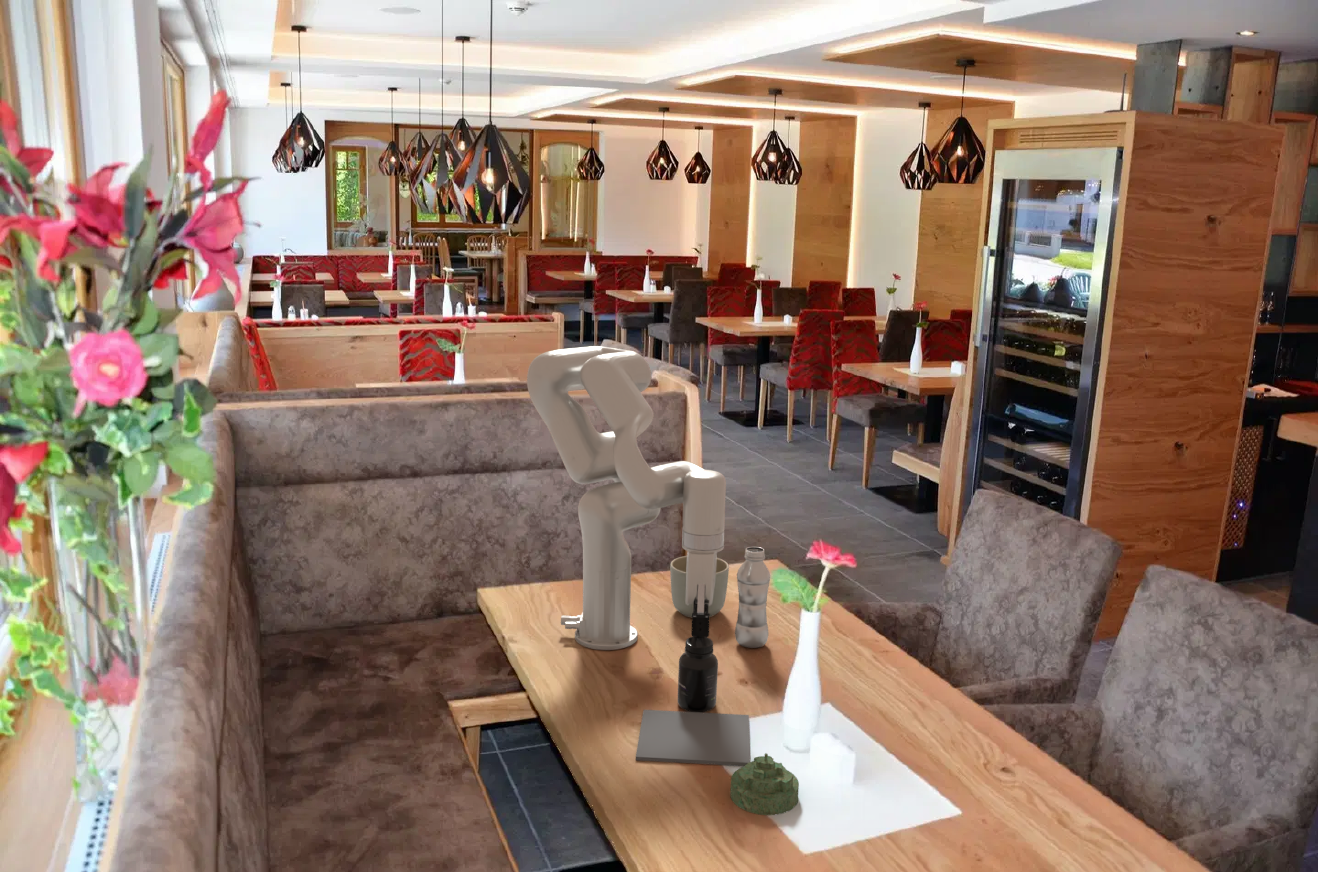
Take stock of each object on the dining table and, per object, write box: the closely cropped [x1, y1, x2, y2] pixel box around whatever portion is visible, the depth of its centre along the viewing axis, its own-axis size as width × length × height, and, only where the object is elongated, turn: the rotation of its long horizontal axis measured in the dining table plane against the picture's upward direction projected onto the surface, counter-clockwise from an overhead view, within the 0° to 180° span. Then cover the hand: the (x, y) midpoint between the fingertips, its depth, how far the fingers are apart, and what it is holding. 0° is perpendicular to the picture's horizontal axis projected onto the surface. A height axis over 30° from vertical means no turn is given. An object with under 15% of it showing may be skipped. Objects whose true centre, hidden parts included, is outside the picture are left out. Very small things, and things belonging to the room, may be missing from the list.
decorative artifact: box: [730, 752, 800, 816], centre depth 158 cm, size 10×7×10 cm
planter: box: [669, 555, 730, 619], centre depth 228 cm, size 12×12×11 cm
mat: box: [635, 709, 751, 767], centre depth 175 cm, size 18×16×1 cm
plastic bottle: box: [734, 546, 771, 649], centre depth 210 cm, size 6×7×20 cm
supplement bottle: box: [677, 635, 719, 713], centre depth 185 cm, size 7×7×12 cm
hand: (700, 635), depth 195 cm, fingers closed
